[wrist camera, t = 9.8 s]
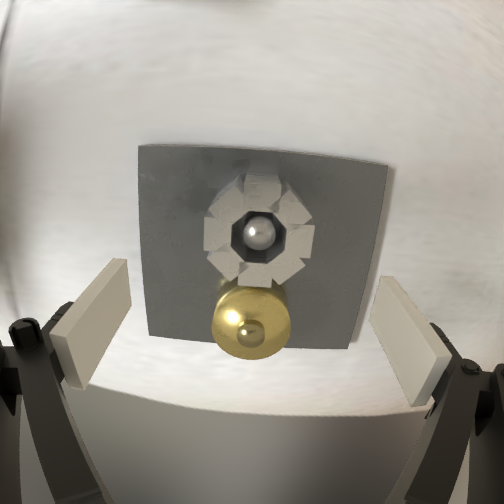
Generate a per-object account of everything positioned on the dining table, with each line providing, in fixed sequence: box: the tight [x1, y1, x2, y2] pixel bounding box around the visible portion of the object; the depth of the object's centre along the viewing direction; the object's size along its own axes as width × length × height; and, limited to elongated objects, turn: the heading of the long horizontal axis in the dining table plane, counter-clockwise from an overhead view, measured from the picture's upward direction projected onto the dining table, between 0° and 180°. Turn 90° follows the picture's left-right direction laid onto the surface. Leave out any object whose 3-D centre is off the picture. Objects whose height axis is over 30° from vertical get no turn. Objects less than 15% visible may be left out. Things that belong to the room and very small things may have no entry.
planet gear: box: [204, 172, 315, 288], centre depth 26 cm, size 8×8×5 cm
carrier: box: [138, 145, 388, 360], centre depth 28 cm, size 22×20×6 cm
